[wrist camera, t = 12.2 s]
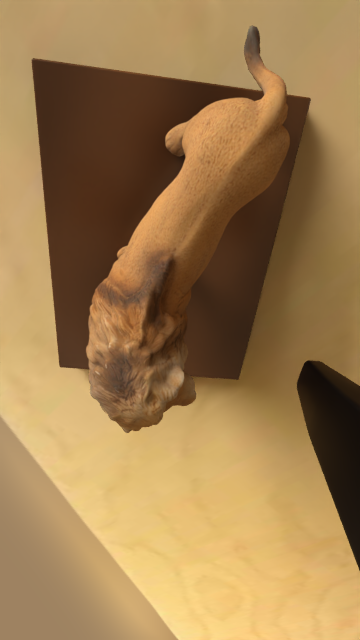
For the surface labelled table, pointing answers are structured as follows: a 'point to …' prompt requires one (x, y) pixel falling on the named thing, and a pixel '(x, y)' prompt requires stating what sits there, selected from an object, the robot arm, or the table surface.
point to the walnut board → (144, 202)
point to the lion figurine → (181, 250)
